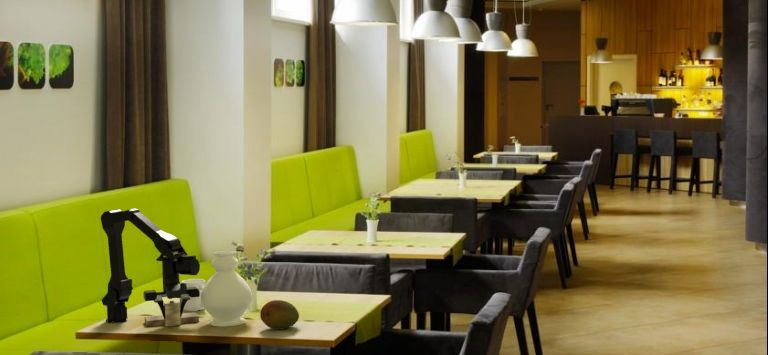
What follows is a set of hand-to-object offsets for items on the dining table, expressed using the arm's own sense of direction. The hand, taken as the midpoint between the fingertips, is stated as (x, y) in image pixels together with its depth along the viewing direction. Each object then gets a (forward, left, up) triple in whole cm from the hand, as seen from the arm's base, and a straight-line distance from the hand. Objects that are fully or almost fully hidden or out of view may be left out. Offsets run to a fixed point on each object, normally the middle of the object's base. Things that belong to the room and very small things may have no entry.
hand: (172, 318), depth 388 cm
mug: (+12, +23, -3) cm, 27 cm away
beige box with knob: (0, +3, -2) cm, 4 cm away
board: (+1, +5, -3) cm, 6 cm away
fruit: (+33, -21, -3) cm, 39 cm away
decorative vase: (+18, -4, -3) cm, 19 cm away
